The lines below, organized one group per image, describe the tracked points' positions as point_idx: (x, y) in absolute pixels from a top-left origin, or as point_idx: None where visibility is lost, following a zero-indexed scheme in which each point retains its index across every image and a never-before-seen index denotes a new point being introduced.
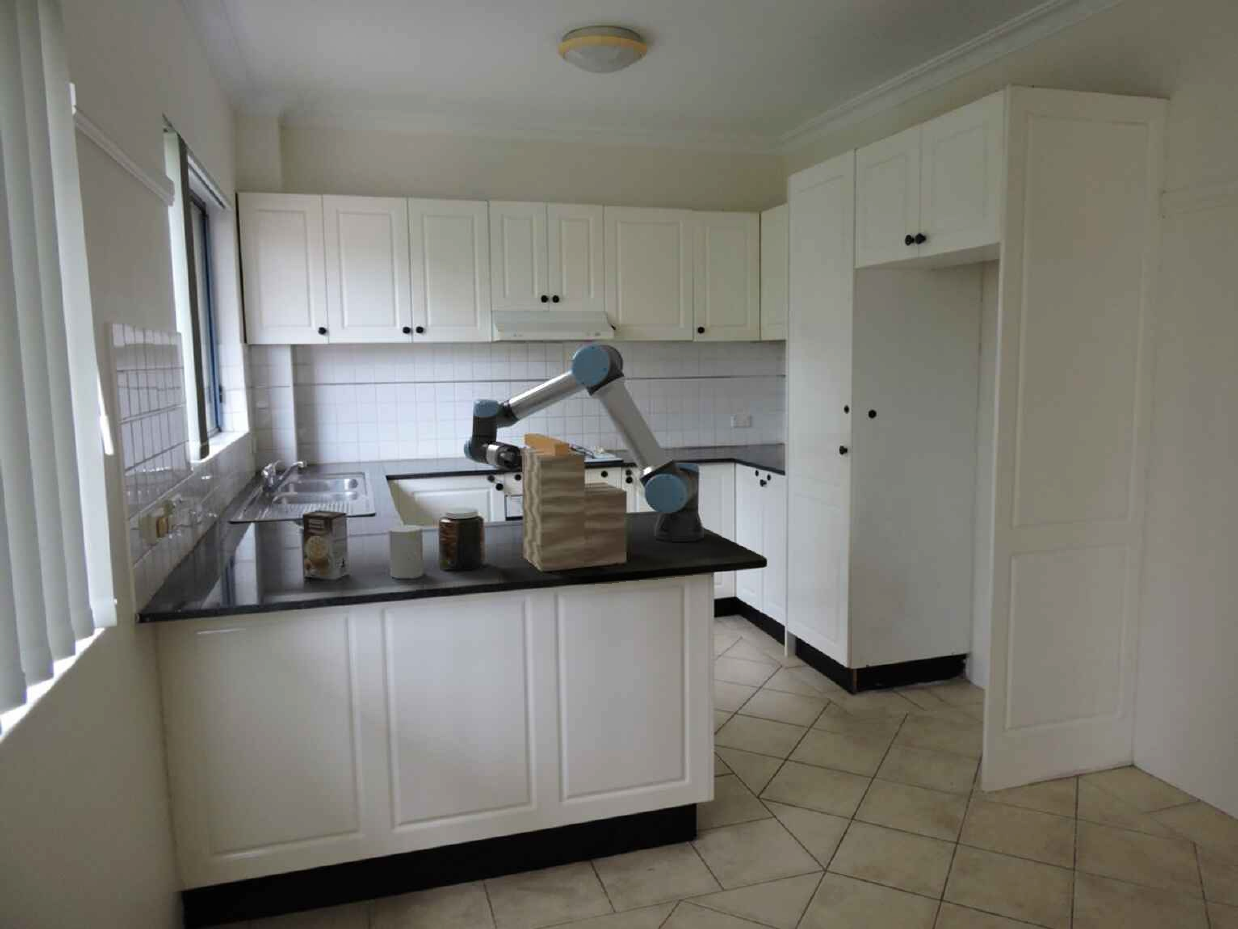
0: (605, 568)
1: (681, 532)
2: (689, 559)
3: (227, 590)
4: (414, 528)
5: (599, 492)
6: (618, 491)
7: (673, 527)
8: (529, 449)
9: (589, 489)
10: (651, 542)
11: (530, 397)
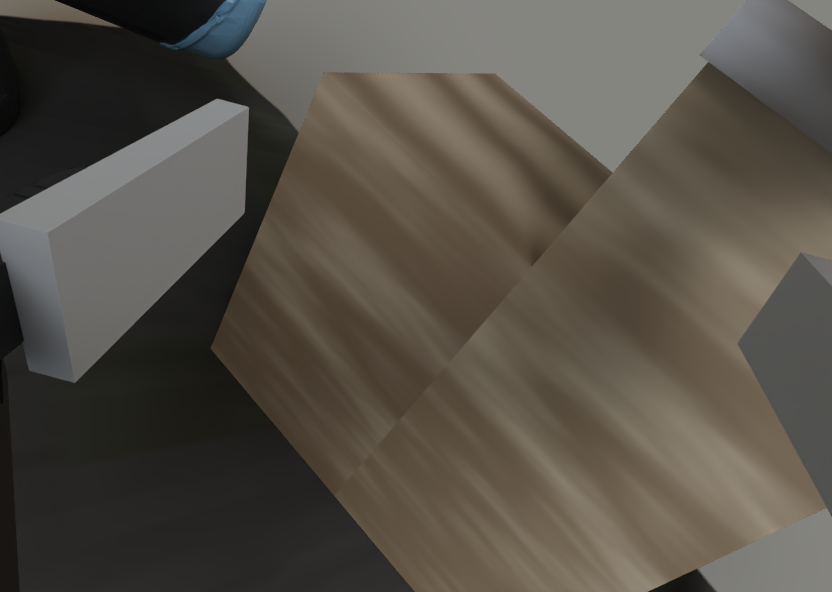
0: None
1: (15, 68)
2: (270, 144)
3: None
4: None
5: (575, 148)
6: (514, 93)
7: (2, 66)
8: None
9: (550, 167)
10: (22, 184)
11: None
